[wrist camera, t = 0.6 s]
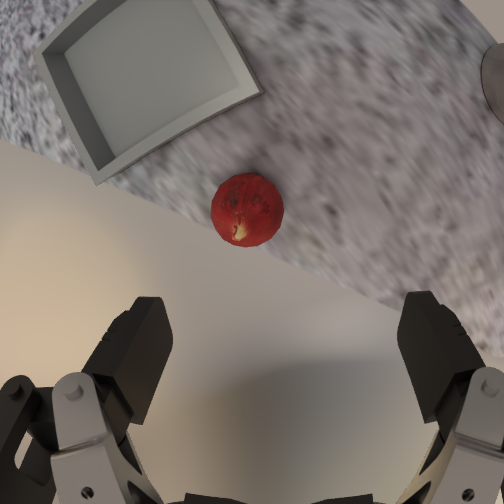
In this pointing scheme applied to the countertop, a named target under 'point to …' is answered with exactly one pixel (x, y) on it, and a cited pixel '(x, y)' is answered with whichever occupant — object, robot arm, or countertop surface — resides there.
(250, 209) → the onion
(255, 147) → the countertop surface
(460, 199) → the countertop surface
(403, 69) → the countertop surface
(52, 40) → the tray
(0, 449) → the robot arm
